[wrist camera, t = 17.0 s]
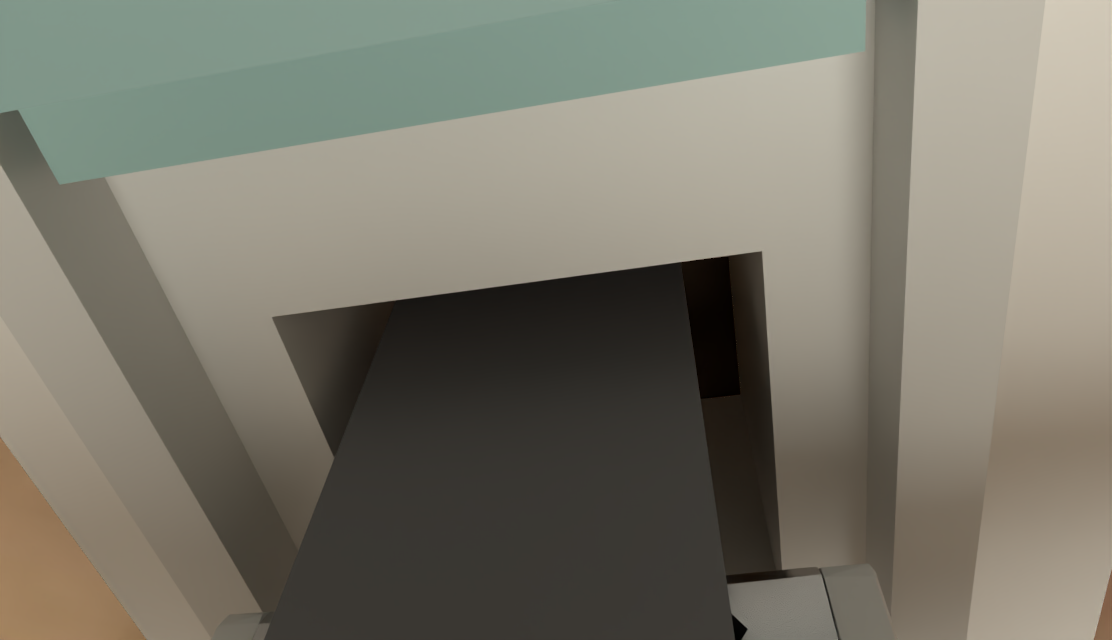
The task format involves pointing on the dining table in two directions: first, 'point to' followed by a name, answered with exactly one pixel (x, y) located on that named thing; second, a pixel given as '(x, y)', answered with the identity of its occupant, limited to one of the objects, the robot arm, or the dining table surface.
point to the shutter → (358, 65)
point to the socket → (610, 245)
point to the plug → (521, 475)
